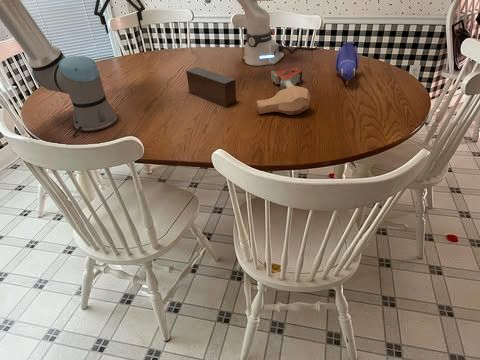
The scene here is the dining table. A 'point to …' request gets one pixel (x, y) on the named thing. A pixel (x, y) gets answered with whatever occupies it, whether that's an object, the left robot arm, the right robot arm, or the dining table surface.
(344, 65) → the toy
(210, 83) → the bar
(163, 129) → the dining table surface
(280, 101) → the squash
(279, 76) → the tape dispenser
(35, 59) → the left robot arm
